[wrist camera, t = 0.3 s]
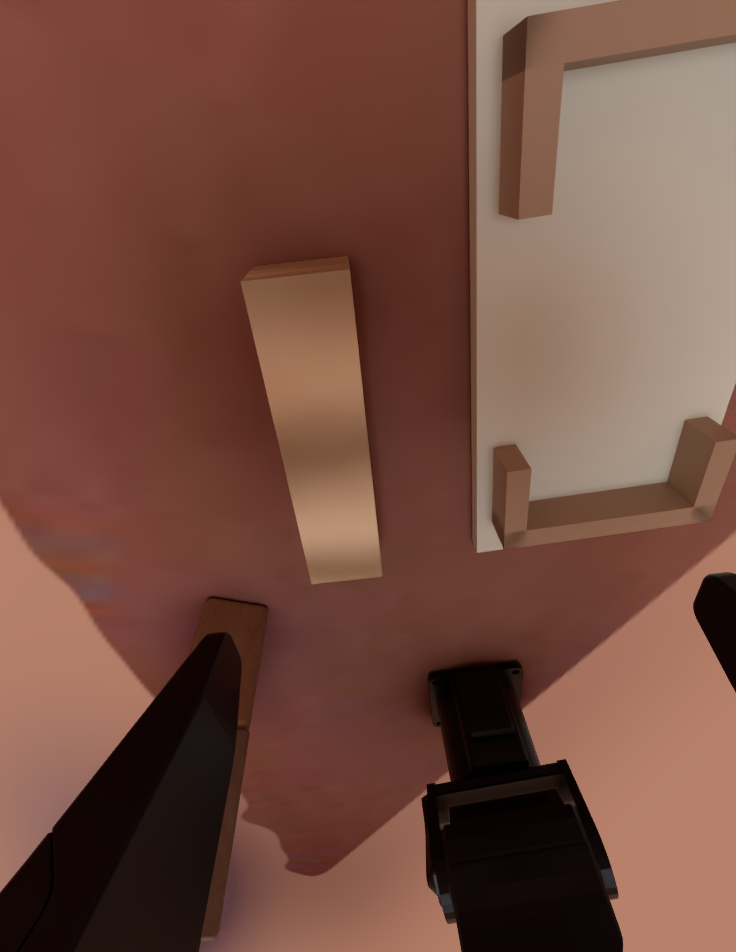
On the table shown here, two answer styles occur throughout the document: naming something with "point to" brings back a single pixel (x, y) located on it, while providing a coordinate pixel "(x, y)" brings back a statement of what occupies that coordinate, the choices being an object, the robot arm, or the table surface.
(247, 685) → the wooden block
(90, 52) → the table surface
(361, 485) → the slat
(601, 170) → the slat board
